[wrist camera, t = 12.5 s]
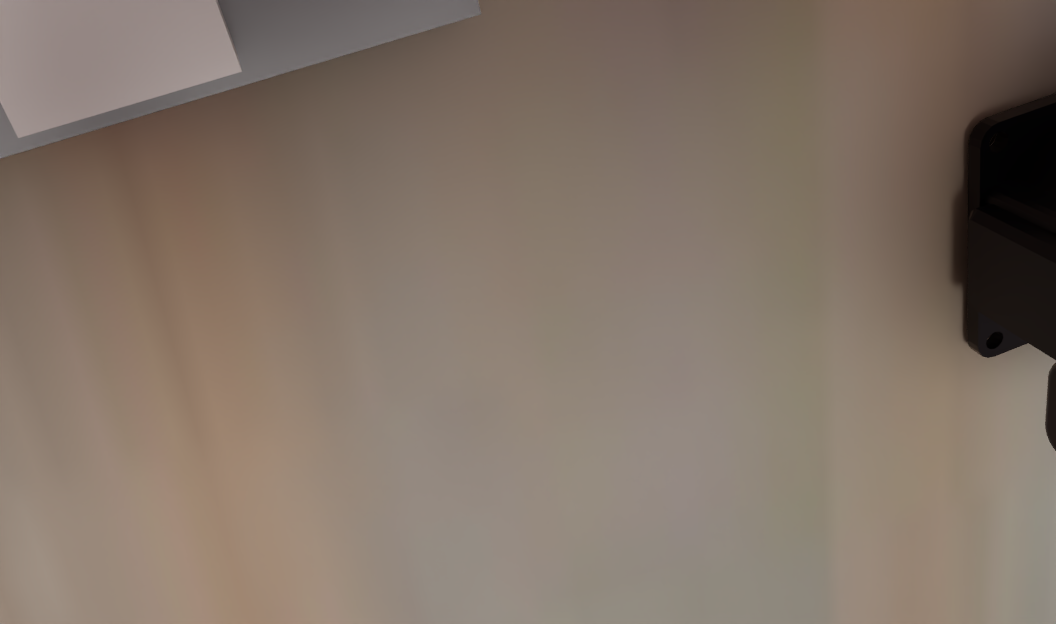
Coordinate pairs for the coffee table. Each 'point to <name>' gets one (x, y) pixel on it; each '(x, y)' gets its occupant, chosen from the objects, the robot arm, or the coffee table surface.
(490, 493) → the coffee table surface
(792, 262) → the coffee table surface
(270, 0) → the rail plate
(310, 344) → the coffee table surface
